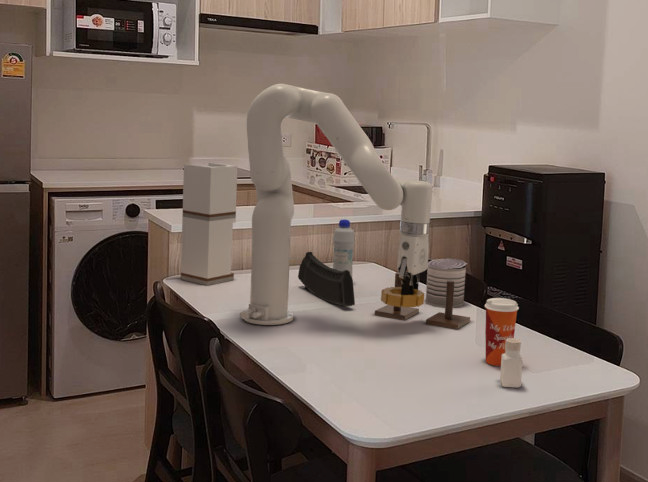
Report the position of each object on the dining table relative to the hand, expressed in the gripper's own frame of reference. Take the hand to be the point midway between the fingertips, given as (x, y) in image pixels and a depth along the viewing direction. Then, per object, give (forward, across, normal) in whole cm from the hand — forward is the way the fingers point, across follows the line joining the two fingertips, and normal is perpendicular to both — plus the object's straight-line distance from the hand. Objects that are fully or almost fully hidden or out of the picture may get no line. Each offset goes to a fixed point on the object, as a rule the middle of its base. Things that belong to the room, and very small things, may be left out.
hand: (409, 298), depth 213 cm
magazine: (+7, +11, +31) cm, 34 cm away
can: (+7, +27, 0) cm, 28 cm away
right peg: (+7, +7, -9) cm, 13 cm away
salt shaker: (+7, -30, -38) cm, 48 cm away
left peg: (+7, +7, +6) cm, 12 cm away
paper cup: (+7, -17, -31) cm, 36 cm away
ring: (0, -4, 0) cm, 4 cm away
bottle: (+7, +30, +36) cm, 48 cm away
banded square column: (+8, +9, +71) cm, 72 cm away
